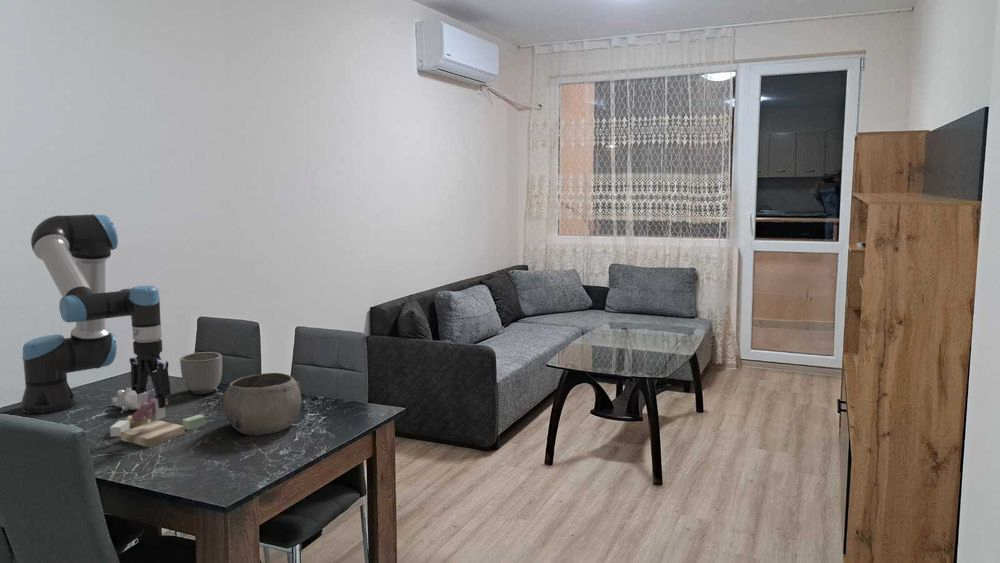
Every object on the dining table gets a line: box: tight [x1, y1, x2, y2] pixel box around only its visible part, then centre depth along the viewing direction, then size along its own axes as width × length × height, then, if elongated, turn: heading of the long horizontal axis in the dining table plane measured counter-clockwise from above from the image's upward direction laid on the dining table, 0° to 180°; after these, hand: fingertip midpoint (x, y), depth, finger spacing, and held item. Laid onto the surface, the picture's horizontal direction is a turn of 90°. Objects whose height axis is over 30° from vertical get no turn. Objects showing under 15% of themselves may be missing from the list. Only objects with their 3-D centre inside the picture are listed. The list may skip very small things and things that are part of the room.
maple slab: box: [120, 419, 186, 448], centre depth 209 cm, size 12×12×2 cm
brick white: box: [109, 419, 131, 437], centre depth 212 cm, size 6×3×3 cm, turn 4°
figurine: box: [111, 386, 139, 414], centre depth 235 cm, size 11×7×15 cm
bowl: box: [221, 372, 302, 436], centre depth 218 cm, size 23×23×15 cm
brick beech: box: [126, 414, 152, 428], centre depth 219 cm, size 6×3×3 cm, turn 103°
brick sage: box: [181, 414, 207, 431], centre depth 218 cm, size 6×3×3 cm, turn 148°
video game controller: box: [132, 397, 169, 421], centre depth 207 cm, size 10×5×7 cm, turn 165°
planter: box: [179, 351, 223, 395], centre depth 253 cm, size 14×14×13 cm
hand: (152, 416), depth 208 cm, fingers closed on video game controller, 6 cm apart
